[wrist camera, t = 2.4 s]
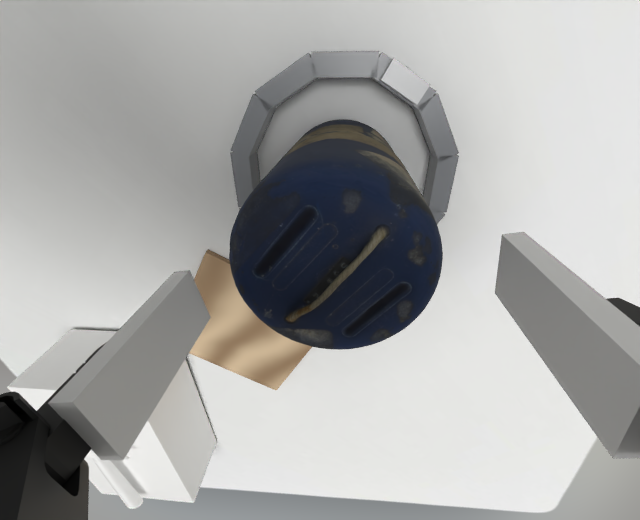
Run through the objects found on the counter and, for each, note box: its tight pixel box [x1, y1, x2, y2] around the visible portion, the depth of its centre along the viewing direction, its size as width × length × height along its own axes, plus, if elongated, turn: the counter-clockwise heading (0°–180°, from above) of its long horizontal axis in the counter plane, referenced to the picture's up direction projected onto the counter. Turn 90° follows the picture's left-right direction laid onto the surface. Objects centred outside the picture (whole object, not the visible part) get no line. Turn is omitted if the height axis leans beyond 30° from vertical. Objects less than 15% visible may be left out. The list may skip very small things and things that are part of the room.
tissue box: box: [7, 329, 217, 509], centre depth 41 cm, size 14×25×11 cm, turn 2°
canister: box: [229, 120, 443, 349], centre depth 19 cm, size 10×10×18 cm
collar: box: [231, 51, 459, 224], centre depth 26 cm, size 18×18×4 cm
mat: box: [189, 250, 312, 390], centre depth 37 cm, size 16×16×1 cm
